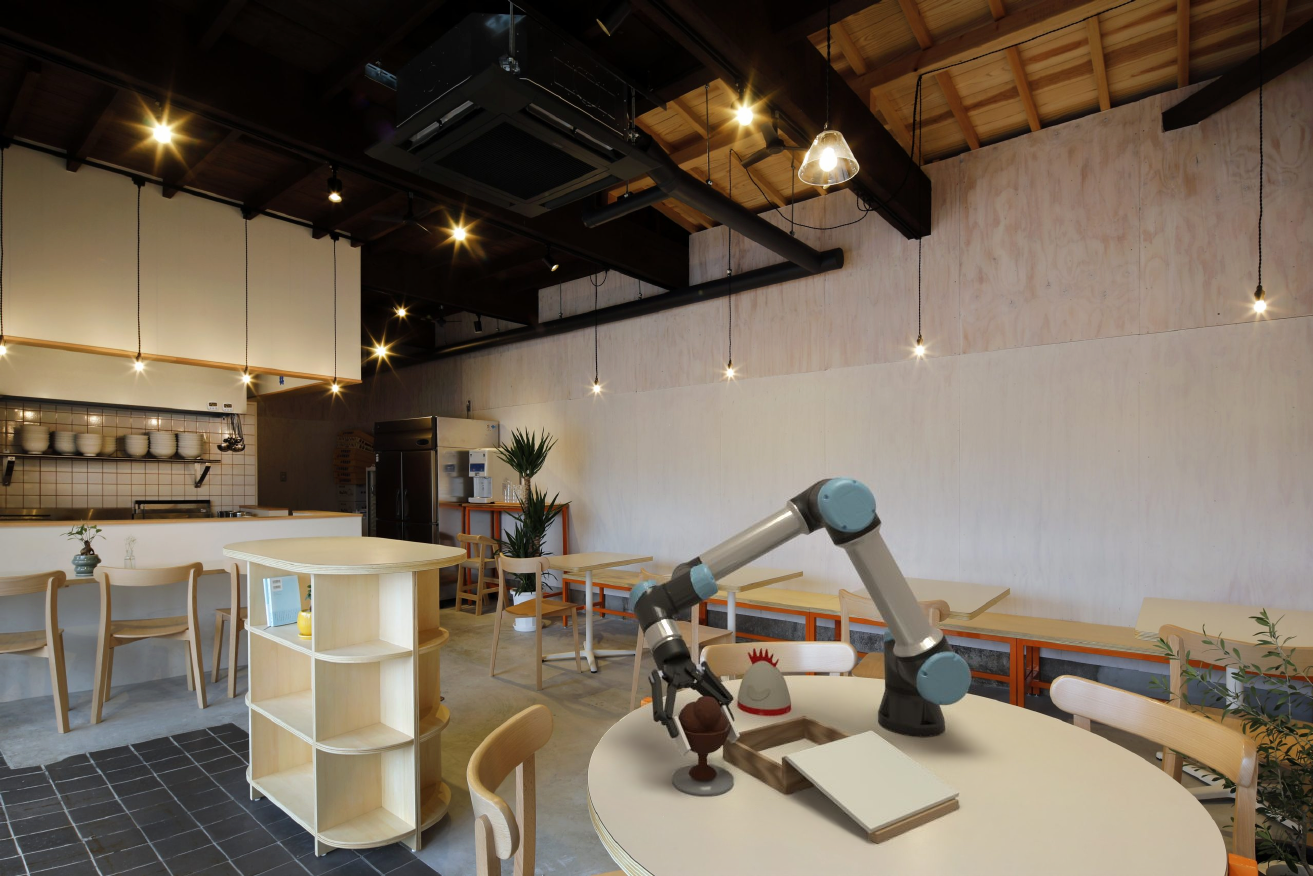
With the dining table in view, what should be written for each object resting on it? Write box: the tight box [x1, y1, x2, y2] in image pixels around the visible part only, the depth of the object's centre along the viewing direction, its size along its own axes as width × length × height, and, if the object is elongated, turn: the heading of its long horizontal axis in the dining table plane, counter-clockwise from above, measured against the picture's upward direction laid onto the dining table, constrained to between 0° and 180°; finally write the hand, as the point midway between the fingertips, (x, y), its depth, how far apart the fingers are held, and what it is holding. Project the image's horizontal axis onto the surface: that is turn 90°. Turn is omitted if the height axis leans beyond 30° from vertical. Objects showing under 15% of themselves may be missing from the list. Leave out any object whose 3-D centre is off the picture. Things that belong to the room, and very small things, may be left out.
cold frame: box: [722, 715, 853, 796], centre depth 135 cm, size 19×24×6 cm
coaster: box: [671, 763, 735, 797], centre depth 125 cm, size 12×12×1 cm
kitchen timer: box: [737, 647, 792, 717], centre depth 169 cm, size 14×14×15 cm
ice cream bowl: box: [677, 695, 731, 780], centre depth 126 cm, size 11×11×15 cm
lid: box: [785, 730, 960, 845], centre depth 118 cm, size 20×24×7 cm
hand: (711, 746), depth 124 cm, fingers closed on ice cream bowl, 11 cm apart
